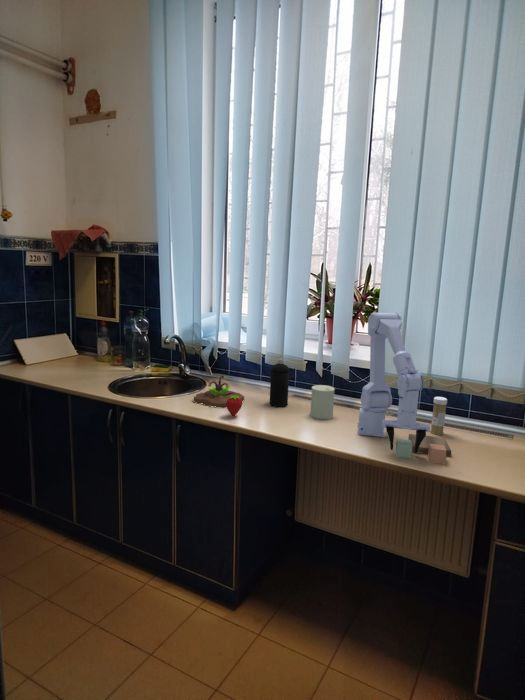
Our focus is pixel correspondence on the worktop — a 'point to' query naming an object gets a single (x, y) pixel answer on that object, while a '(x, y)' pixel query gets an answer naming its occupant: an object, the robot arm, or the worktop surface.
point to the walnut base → (429, 440)
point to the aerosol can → (279, 384)
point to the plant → (216, 395)
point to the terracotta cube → (437, 453)
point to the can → (322, 402)
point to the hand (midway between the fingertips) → (403, 450)
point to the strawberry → (234, 404)
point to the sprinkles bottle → (438, 415)
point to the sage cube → (403, 448)
